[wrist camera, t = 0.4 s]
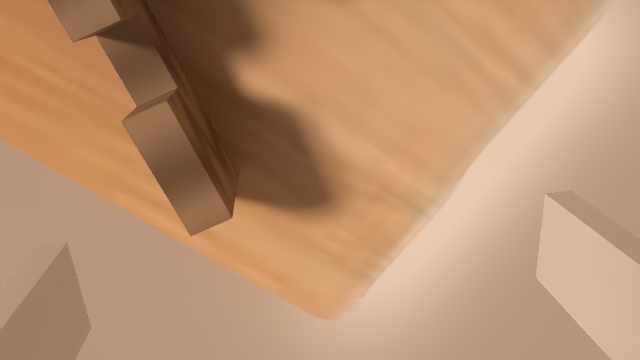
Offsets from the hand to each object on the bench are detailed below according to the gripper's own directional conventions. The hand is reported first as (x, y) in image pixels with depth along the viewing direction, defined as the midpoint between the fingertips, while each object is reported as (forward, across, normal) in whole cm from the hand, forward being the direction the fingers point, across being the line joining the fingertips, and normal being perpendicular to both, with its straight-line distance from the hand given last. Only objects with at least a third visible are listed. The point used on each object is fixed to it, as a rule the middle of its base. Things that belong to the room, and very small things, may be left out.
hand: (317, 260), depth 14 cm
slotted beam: (+26, -9, +3) cm, 28 cm away
